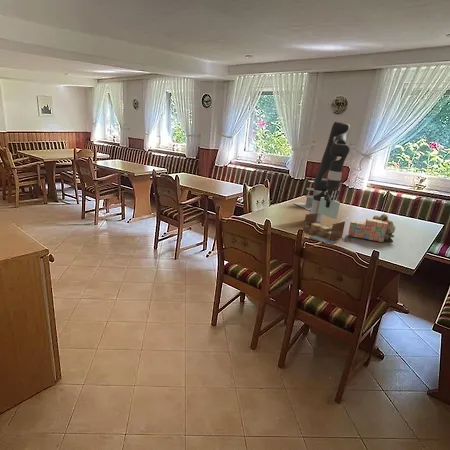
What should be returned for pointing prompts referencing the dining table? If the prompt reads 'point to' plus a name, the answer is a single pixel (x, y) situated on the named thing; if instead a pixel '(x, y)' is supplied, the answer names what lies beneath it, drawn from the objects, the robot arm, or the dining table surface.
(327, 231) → the offcut stack
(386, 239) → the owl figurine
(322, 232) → the rack
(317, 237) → the pad
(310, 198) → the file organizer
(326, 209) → the panel
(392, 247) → the dining table surface
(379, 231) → the stack of blocks
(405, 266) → the dining table surface
